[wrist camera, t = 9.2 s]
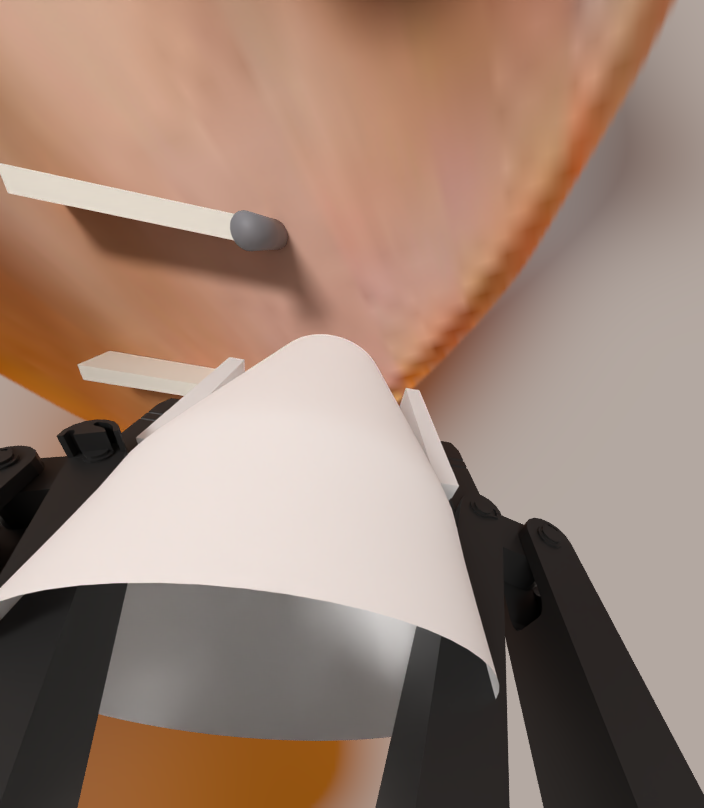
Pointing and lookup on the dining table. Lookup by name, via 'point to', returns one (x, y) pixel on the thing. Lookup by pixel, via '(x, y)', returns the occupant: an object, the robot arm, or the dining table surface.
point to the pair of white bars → (239, 227)
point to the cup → (271, 556)
